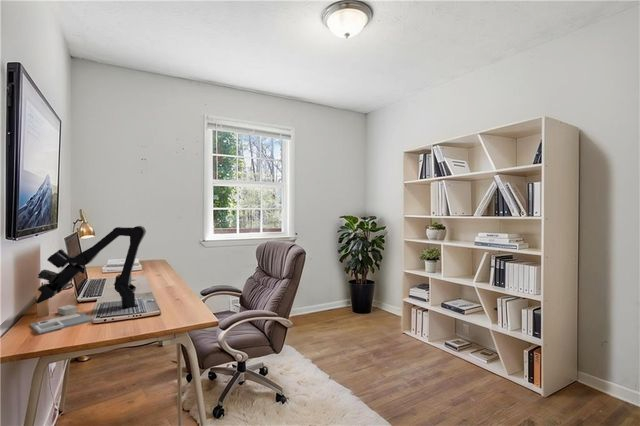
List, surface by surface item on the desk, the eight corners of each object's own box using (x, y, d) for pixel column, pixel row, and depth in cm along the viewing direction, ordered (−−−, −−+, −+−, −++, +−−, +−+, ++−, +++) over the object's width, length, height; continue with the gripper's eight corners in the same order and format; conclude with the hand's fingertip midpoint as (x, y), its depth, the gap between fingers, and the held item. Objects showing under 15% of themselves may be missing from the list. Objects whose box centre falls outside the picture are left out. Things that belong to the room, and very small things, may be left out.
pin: (50, 315, 151) (48, 286, 151) (38, 317, 148) (37, 288, 148) (47, 313, 154) (46, 285, 154) (36, 316, 151) (35, 287, 150)
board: (94, 321, 142) (94, 317, 142) (39, 334, 128) (39, 330, 128) (81, 313, 153) (81, 309, 153) (30, 325, 139) (30, 321, 139)
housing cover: (77, 312, 155) (77, 306, 155) (65, 315, 151) (65, 309, 151) (70, 310, 159) (69, 304, 159) (57, 313, 154) (57, 307, 154)
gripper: (59, 260, 160) (32, 285, 157) (42, 266, 143) (11, 295, 140) (79, 274, 163) (53, 300, 160) (66, 283, 146) (35, 312, 143)
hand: (38, 301), depth 150 cm, fingers closed on pin, 4 cm apart
